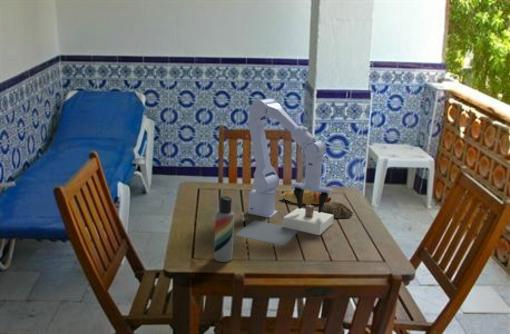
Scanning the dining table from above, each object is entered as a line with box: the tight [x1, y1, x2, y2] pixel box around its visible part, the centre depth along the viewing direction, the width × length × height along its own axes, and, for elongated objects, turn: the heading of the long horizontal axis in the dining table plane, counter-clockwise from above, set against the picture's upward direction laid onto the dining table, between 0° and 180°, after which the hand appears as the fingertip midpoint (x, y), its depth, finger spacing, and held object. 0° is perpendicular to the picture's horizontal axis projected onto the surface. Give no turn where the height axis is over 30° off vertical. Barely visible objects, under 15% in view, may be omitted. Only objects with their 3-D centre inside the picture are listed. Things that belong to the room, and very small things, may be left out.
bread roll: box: [322, 201, 354, 219], centre depth 216 cm, size 13×12×5 cm
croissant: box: [279, 190, 332, 205], centre depth 228 cm, size 21×10×8 cm, turn 84°
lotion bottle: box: [213, 195, 235, 263], centre depth 168 cm, size 6×6×20 cm
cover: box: [282, 205, 334, 236], centre depth 201 cm, size 14×14×7 cm
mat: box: [234, 219, 300, 247], centre depth 193 cm, size 18×17×1 cm
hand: (310, 210), depth 201 cm, fingers open, 7 cm apart
